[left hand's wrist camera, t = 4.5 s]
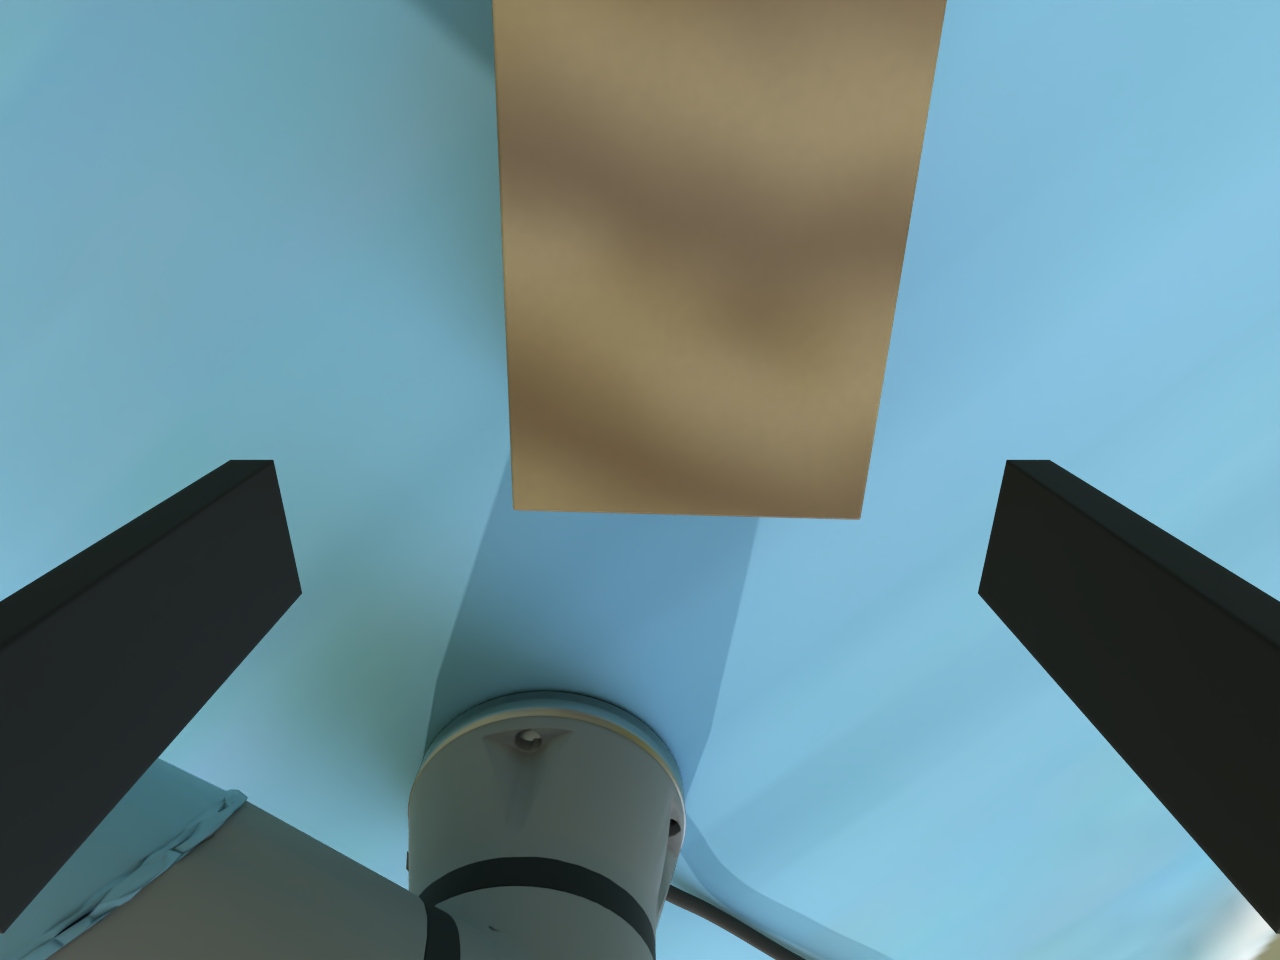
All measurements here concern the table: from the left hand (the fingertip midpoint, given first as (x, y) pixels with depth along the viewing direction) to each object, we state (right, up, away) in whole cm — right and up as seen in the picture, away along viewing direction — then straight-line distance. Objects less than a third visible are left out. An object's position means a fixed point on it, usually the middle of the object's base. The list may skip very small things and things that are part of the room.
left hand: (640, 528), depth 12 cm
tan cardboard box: (+2, +12, +15) cm, 19 cm away
